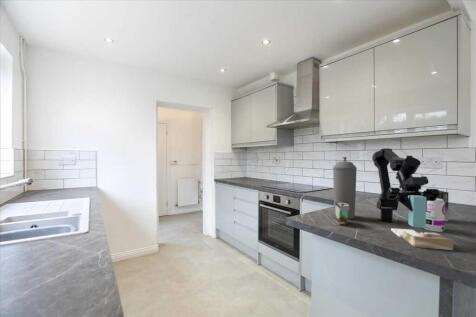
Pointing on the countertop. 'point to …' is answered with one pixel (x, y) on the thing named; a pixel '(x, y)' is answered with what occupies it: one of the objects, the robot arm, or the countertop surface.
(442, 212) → the supplement can
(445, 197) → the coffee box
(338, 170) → the canister
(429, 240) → the oak rack
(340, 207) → the food container
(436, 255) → the countertop surface
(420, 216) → the teal rectangular block
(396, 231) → the white pad
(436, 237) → the offcut top
